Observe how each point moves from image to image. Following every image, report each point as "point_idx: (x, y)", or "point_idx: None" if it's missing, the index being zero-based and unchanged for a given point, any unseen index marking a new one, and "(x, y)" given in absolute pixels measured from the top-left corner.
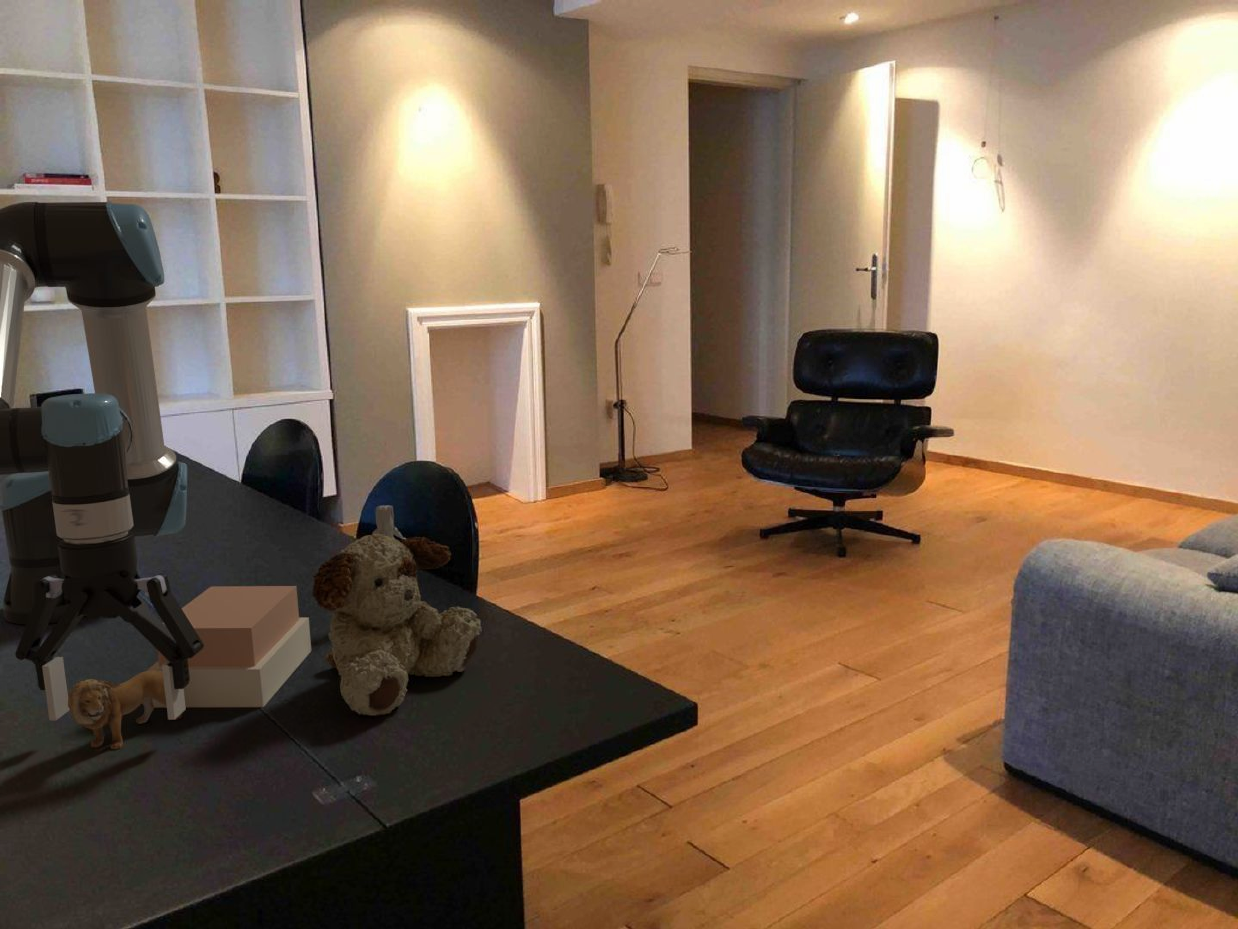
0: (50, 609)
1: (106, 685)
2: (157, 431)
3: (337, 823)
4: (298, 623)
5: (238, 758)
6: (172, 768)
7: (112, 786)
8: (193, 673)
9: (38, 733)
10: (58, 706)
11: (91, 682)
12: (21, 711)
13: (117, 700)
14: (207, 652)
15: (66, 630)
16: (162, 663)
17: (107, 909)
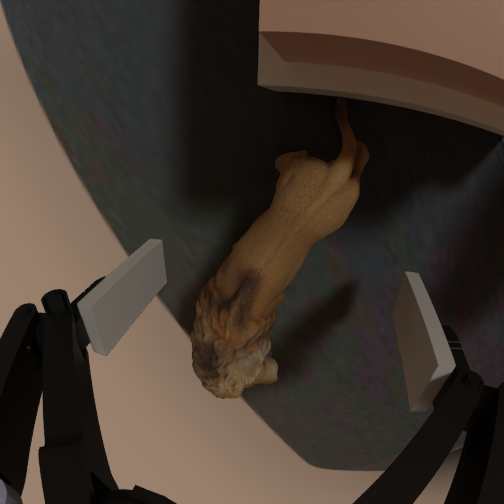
0: (5, 430)
1: (250, 336)
2: None
3: None
4: None
5: (476, 315)
6: (394, 333)
7: (324, 362)
8: (402, 102)
9: (123, 195)
10: (154, 283)
11: (237, 393)
12: (60, 121)
13: (276, 303)
14: (461, 85)
15: (103, 445)
16: (295, 61)
17: (370, 467)
